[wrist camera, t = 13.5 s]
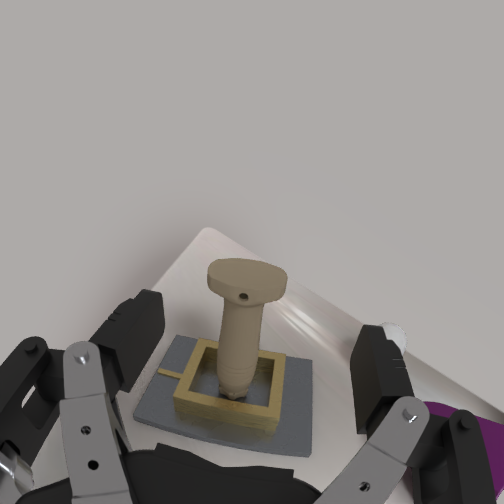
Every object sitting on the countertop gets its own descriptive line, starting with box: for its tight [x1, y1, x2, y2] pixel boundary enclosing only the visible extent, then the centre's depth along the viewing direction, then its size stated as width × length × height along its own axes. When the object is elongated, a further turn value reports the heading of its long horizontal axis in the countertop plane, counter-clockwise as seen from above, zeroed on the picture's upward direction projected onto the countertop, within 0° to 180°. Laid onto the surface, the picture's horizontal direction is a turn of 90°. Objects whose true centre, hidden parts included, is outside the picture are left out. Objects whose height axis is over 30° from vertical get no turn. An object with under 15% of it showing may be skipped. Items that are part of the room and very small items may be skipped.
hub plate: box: [133, 335, 312, 457], centre depth 30 cm, size 18×14×4 cm
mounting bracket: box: [423, 402, 504, 500], centre depth 19 cm, size 9×8×18 cm
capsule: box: [379, 323, 407, 355], centre depth 34 cm, size 5×5×8 cm
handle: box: [207, 258, 287, 400], centre depth 27 cm, size 5×6×15 cm
